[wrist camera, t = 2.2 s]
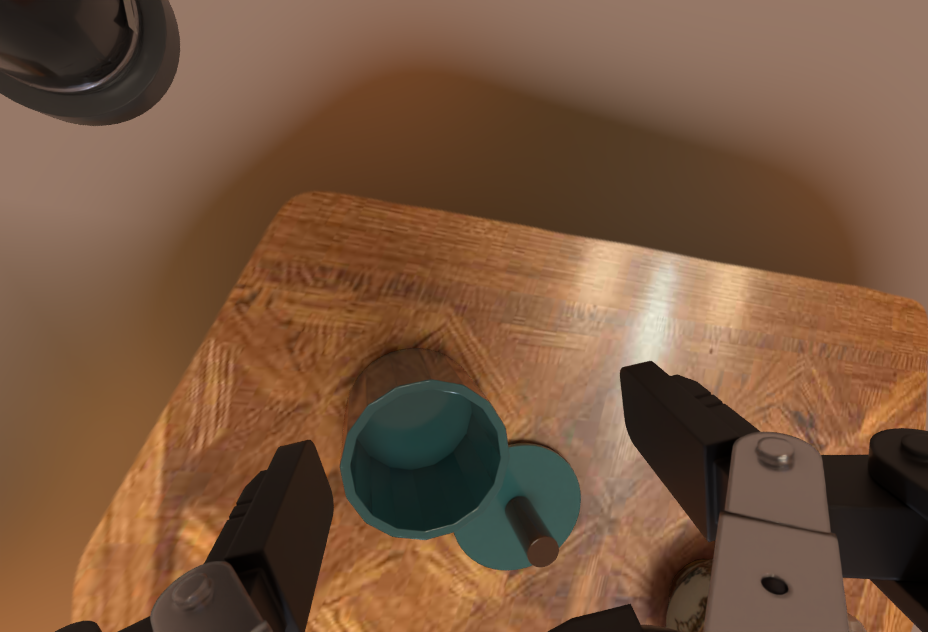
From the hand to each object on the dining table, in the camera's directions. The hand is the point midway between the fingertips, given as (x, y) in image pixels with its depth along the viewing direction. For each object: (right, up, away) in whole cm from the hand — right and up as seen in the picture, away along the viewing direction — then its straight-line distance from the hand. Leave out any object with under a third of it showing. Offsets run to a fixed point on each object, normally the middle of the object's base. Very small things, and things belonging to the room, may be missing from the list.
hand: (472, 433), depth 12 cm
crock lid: (+4, -13, +27) cm, 30 cm away
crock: (-4, -4, +25) cm, 25 cm away
